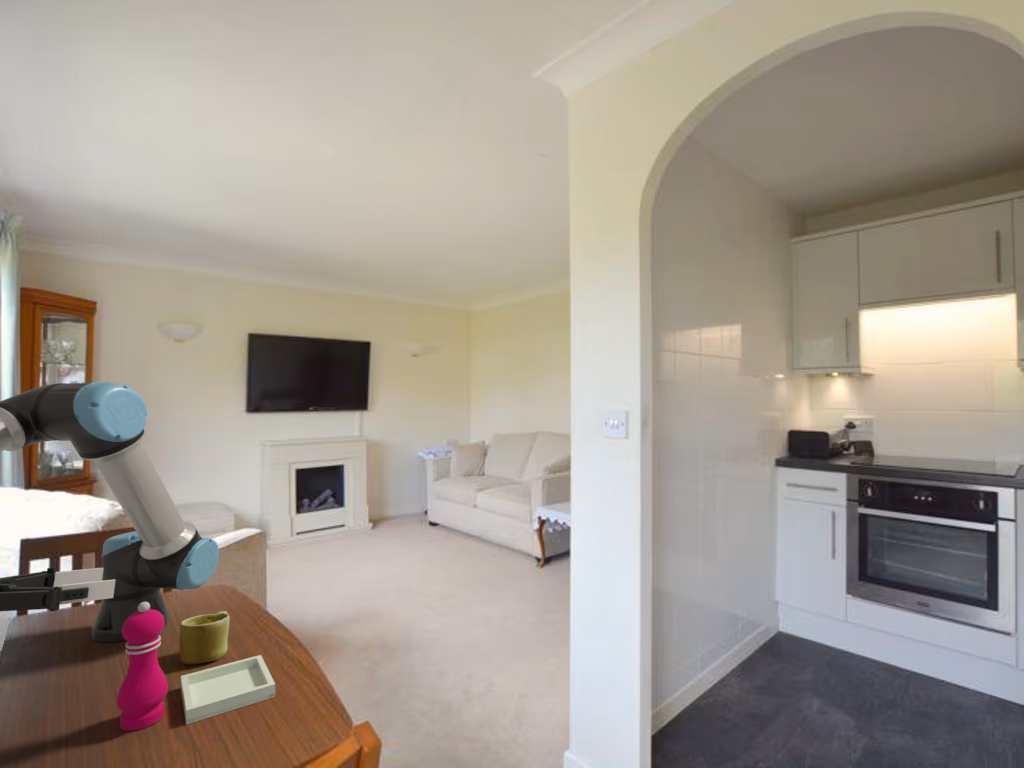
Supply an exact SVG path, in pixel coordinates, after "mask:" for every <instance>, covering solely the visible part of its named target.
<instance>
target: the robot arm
mask: <svg viewBox="0 0 1024 768" xmlns="http://www.w3.org/2000/svg"><path fill="white" fill-rule="evenodd" d="M146 416H148V409H147V405H146V402H145V401H144V398H143V397H142V396H141V395H140V393H138V392H137V391H136V389H134V388H132V387H130V386H128V385H126V384H122V383H117V382H109V381H95V382H94V381H92V382H75V383H74V382H69V383H65V382H64V383H63V382H62V383H61V382H60V383H50V384H46V385H42V386H39V387H34V388H32V389H29V390H26V391H24V392H21V393H19V394H15V395H13V396H10V397H8V398H5V399H2V400H0V453H2V452H3V451H7V452H16V451H19V450H20V449H23V448H26V447H27V446H31V445H34V444H39V443H45V442H52V441H53V442H54V441H55V442H56V441H63V442H64V441H65V442H67V441H69V442H70V443H71V444H72V446H73V448H74V449H75V451H76V452H77V454H78V456H79V457H80V458H81V459H82V460H85V461H92V462H94V464H95V465H96V467H97V469H98V470H99V472H100V474H101V475H102V477H103V478H104V480H105V481H106V484H107V485H108V487H109V489H110V491H111V492H112V494H113V495H114V497H115V499H116V500H117V502H118V504H119V505H120V507H121V508H122V510H123V512H124V513H125V515H126V517H127V518H128V520H129V521H130V523H131V525H132V527H133V528H134V530H135V531H129V532H125V533H120V534H117V535H113V536H111V537H109V538H108V539H106V540H104V543H102V544H103V545H102V554H101V557H100V558H101V567H94V568H84V569H73V570H72V569H71V570H66V571H65V570H64V571H61V570H60V571H56V567H48V568H47V569H46V570H43V571H38V572H31V573H26V574H25V573H23V574H17V575H12V576H4V577H0V612H12V611H13V612H15V611H28V610H29V611H33V610H49V611H50V612H56V611H59V609H60V605H67V604H68V605H69V604H75V603H76V604H77V603H82V602H83V603H85V602H91V601H98V600H101V603H100V605H99V608H98V611H97V613H96V616H95V619H94V621H93V623H92V627H91V638H92V639H93V640H94V641H96V642H101V643H114V642H123V641H126V640H125V639H124V637H123V635H122V628H123V625H124V623H125V621H126V620H127V619H128V618H129V617H130V616H131V615H132V614H134V613H136V612H138V606H139V604H140V603H142V602H148V603H149V604H150V608H149V609H152V610H157V611H159V612H160V613H161V614H162V615H163V617H164V627H165V626H166V625H168V623H169V620H170V612H169V608H168V606H167V604H166V601H165V599H164V596H163V594H162V589H165V590H176V591H177V590H178V591H185V590H196V589H199V588H201V587H202V586H204V585H205V584H206V583H207V582H208V581H209V580H210V579H211V577H213V574H214V572H215V571H216V569H217V565H218V562H219V557H220V548H219V545H218V543H217V541H215V540H214V539H213V538H210V537H206V536H205V537H201V535H200V533H199V532H198V529H197V528H196V526H195V524H193V522H189V521H184V520H183V517H182V516H181V513H179V510H178V507H176V505H175V503H174V501H173V499H172V497H171V495H170V494H169V492H168V490H167V488H166V487H165V485H164V484H165V483H164V482H163V481H162V479H161V476H160V475H159V473H158V471H157V470H156V468H155V466H154V464H153V462H152V460H151V458H150V457H149V455H148V453H147V451H146V449H145V447H144V445H143V443H142V439H144V436H145V434H146V433H145V432H146V431H145V429H144V428H145V426H146V425H147V421H148V420H147V418H146Z"/></svg>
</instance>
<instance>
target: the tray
mask: <svg viewBox="0 0 1024 768" xmlns="http://www.w3.org/2000/svg"><path fill="white" fill-rule="evenodd" d="M180 691H181V693H180V694H181V699H182V704H183V712H184V719H185V725H189V724H193V723H195V722H199V721H201V720H205V719H208V718H211V717H215V716H218V715H221V714H224V713H225V714H226V713H227V712H230V711H234V710H237V709H241V708H243V707H246V706H249V705H253V704H256V703H261V702H262V701H263V702H264V701H265V700H269V699H272V698H275V697H276V683H275V680H274V678H273V676H272V674H271V673H270V670H269V668H268V667H267V664H266V662H265V660H264V658H263V656H262V654H259V655H255V656H251V657H248V658H244V659H243V658H242V659H240V660H235V661H232V662H228V663H226V664H225V663H224V664H221V665H218V666H212V667H210V668H205V669H202V670H199V671H195V672H191V673H187V674H184V675H180Z"/></svg>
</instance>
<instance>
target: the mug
mask: <svg viewBox="0 0 1024 768" xmlns="http://www.w3.org/2000/svg"><path fill="white" fill-rule="evenodd" d="M230 621H231V619H230V615H229V613H228V611H226V610H222V611H217V612H216V613H215V614H213V613H209V614H202V615H200V614H199V615H196V616H191V617H188V618H186V619H183V620H182V621H181V623H180V626H179V639H178V640H179V657H180V661H181V662H182V663H183V664H184V665H197V664H203V663H208V662H209V663H210V662H215V661H219V660H220V659H221V658H223V657H224V656H225V655H226V653H227V651H228V648H229V647H228V637H229V628H230Z"/></svg>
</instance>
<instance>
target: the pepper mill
mask: <svg viewBox="0 0 1024 768" xmlns="http://www.w3.org/2000/svg"><path fill="white" fill-rule="evenodd" d="M149 608H150V604H149V603H148V602H142V603H140V604H139V606H138V612H136V613H134V614H132V615H131V616H130V617H129V618H128V619H127V620H126V621H125V623H124V625H123V628H122V635H123V637H124V639H125V640H124V641H126V643H125V653H126V654H127V655H128V669H127V672H126V675H125V677H124V679H123V681H122V683H121V684H120V687H119V689H118V693H117V696H116V697H117V698H116V706H117V708H118V709H119V710H120V711H122V712H121V713H120V715H119V716H120V717H119V727H120V729H121V730H123V731H128V732H132V731H138V730H142V729H145V728H148V727H151V726H153V725H154V724H156V723H158V722H159V721H161V719H162V718H163V717H164V716H165V702H164V701H163V700H164V699H165V698H166V696H167V694H168V691H169V685H168V680H167V677H166V675H165V673H164V671H163V670H162V668H161V666H160V664H159V659H158V650H159V648H160V646H161V644H162V643H161V640H162V637H161V635H160V634H161V632H162V631H163V630H164V627H165V626H164V617H163V615H162V614H161V613H160V612H159V611H157V610H152V609H149Z"/></svg>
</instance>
